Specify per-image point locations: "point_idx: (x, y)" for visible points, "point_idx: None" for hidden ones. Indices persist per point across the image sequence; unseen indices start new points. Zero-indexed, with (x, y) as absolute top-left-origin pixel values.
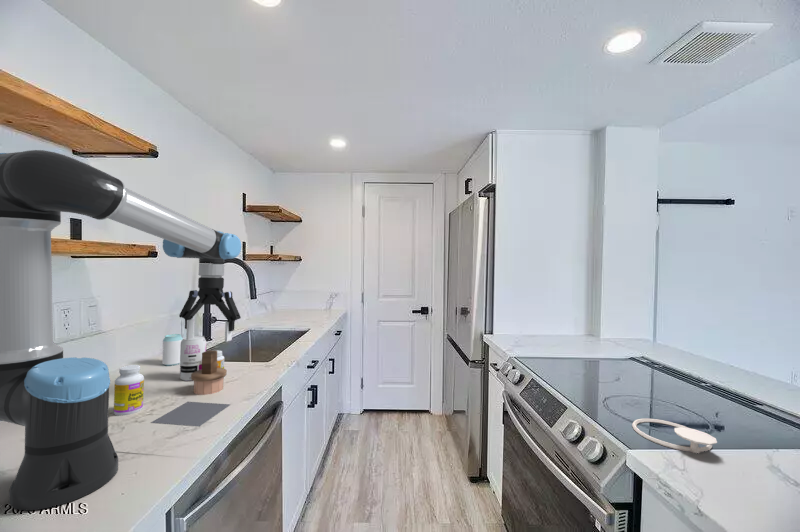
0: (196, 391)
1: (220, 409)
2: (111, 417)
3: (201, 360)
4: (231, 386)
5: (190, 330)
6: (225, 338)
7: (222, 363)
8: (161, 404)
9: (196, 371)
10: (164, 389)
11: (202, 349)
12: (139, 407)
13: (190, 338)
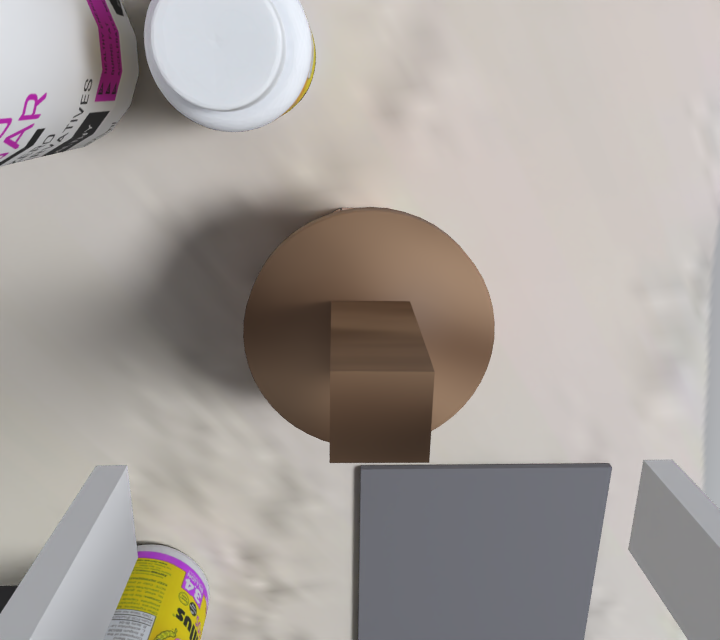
0: None
1: (588, 524)
2: None
3: (87, 74)
4: (467, 193)
5: (94, 613)
6: (654, 576)
7: (312, 57)
8: (238, 499)
9: (252, 331)
10: (60, 313)
11: (37, 60)
12: (207, 601)
13: (132, 528)
